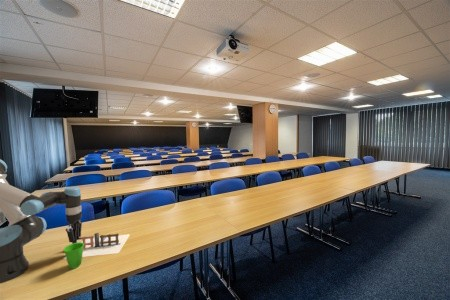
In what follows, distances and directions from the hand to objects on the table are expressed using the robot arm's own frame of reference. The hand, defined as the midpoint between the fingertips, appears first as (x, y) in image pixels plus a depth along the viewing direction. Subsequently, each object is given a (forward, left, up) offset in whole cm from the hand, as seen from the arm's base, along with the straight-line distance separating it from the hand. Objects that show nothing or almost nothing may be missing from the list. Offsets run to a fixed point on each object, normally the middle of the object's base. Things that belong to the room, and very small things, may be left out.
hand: (75, 250), depth 118 cm
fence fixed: (+6, -15, -2) cm, 16 cm away
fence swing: (+6, -1, -2) cm, 7 cm away
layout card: (+8, -10, -2) cm, 13 cm away
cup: (-12, -6, -2) cm, 14 cm away
